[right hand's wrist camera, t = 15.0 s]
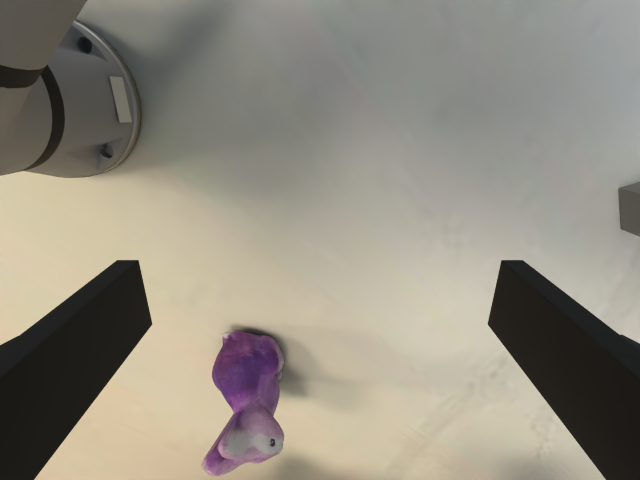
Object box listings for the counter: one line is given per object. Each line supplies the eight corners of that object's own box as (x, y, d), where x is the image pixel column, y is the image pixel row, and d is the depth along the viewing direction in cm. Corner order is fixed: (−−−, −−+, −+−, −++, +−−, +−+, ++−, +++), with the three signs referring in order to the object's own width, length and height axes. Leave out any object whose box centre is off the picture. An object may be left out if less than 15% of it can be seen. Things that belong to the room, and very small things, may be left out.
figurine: (288, 391, 48) (273, 506, 34) (216, 377, 48) (170, 488, 33) (303, 337, 45) (292, 440, 31) (226, 320, 44) (179, 418, 30)
